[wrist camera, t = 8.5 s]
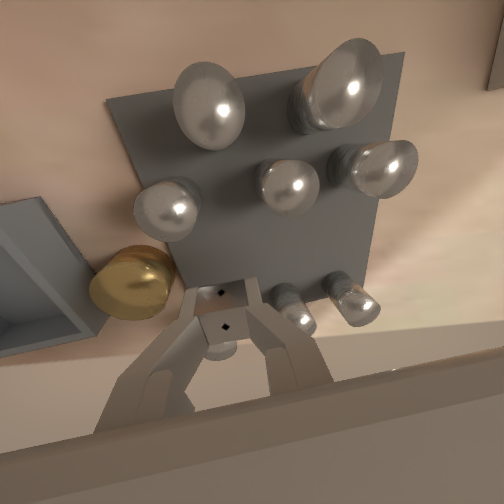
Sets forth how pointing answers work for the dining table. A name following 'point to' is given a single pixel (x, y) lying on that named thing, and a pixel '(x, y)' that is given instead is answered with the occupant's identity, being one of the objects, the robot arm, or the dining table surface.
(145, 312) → the knob
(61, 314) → the tray
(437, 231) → the dining table surface
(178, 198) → the spacers
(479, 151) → the dining table surface
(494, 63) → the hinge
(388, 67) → the mat
